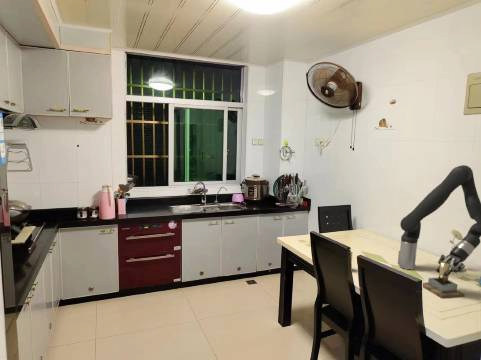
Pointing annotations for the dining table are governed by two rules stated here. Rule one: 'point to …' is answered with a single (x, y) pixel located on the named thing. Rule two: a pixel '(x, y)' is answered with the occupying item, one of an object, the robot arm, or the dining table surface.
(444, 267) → the gold dome cylinder
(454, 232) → the flower in vase
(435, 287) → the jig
